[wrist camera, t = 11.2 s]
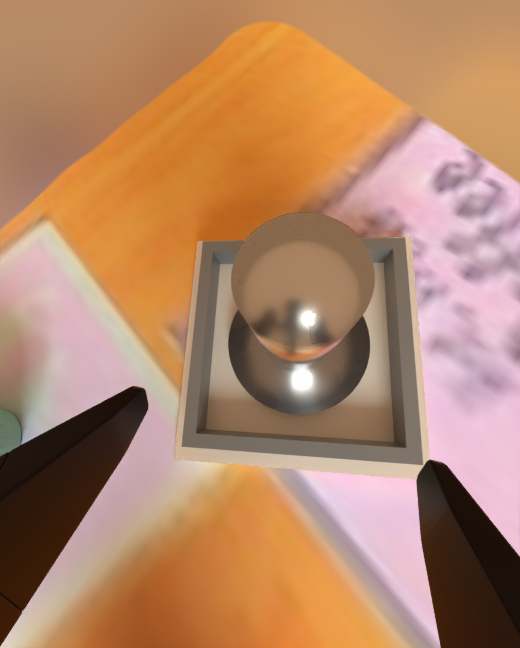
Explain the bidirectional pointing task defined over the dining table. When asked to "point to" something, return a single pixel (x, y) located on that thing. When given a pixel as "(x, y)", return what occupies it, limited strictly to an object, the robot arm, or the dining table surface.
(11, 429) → the cupcake
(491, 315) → the dining table surface
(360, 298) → the flared base peg
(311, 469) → the board
